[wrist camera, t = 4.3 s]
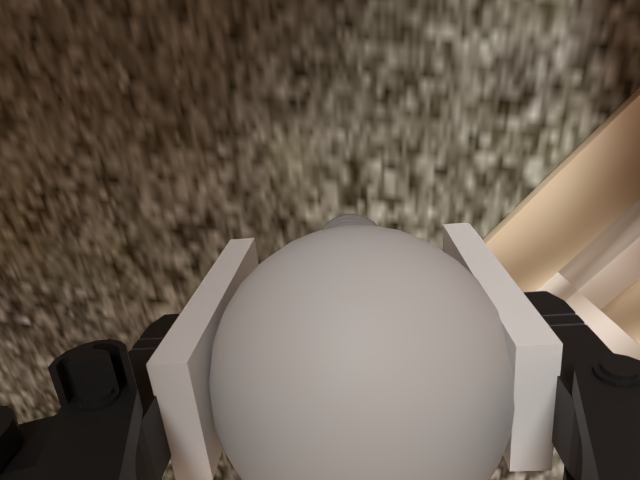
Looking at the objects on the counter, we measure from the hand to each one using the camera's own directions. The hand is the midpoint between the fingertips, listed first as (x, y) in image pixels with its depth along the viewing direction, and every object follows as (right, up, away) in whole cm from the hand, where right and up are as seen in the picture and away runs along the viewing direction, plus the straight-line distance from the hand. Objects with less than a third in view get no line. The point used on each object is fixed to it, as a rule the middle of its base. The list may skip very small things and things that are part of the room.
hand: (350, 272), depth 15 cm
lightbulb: (0, +1, +3) cm, 3 cm away
